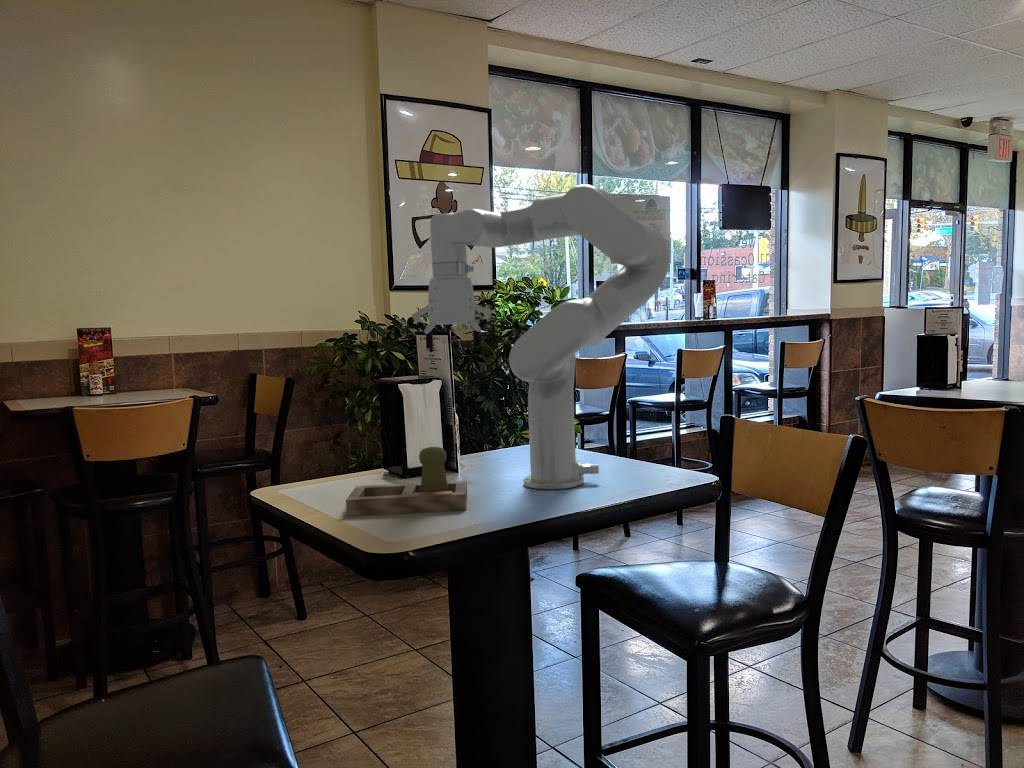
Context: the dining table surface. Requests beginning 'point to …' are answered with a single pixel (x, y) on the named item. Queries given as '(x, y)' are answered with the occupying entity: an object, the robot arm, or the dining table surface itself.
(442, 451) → the olive tall rounded piece
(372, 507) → the caddy
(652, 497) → the dining table surface
